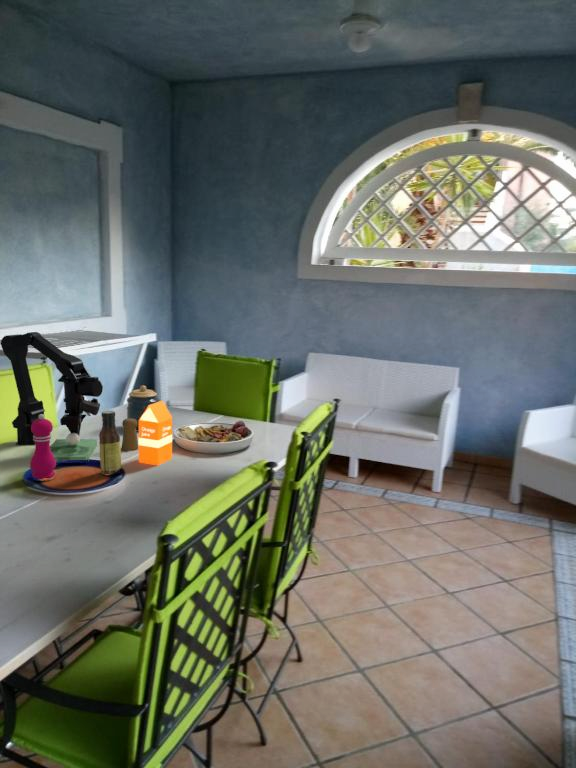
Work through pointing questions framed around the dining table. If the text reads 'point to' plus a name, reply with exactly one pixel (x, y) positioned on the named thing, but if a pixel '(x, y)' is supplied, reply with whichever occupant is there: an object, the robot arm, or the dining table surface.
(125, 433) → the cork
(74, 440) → the ball
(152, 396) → the canister
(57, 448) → the green flat block
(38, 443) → the pepper mill
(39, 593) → the dining table surface
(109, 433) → the sauce bottle
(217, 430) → the bowl
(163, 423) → the orange juice
